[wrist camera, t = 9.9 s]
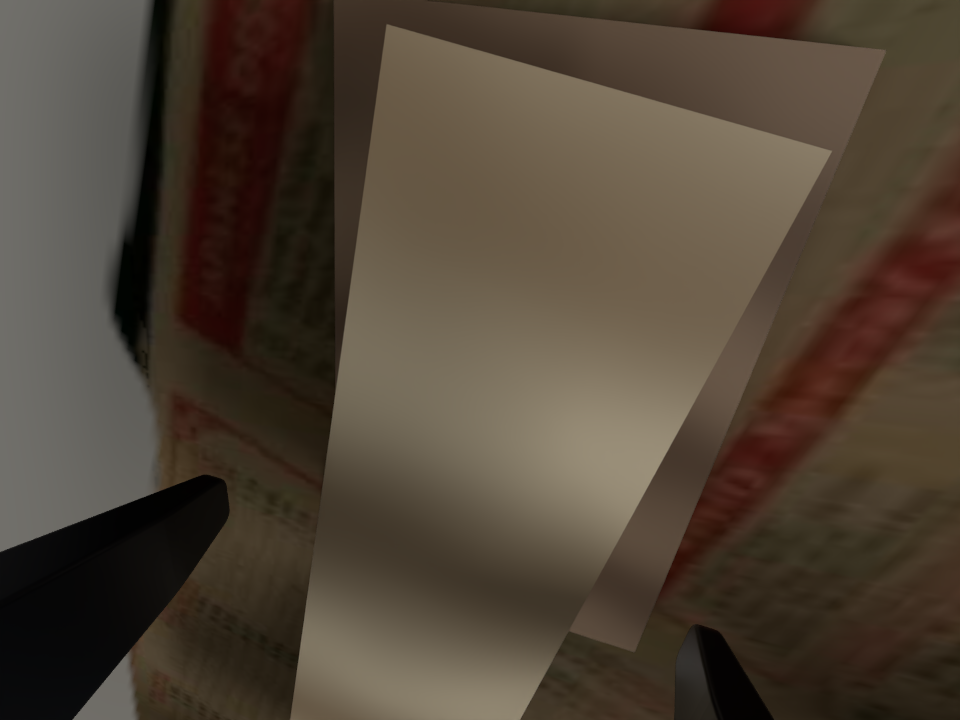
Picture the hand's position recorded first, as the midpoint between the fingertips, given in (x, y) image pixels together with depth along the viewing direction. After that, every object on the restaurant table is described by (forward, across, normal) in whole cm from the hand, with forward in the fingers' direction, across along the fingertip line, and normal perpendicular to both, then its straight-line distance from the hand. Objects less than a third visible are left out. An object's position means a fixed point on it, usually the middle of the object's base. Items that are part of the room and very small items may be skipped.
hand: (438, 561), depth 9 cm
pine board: (+4, 0, 0) cm, 4 cm away
